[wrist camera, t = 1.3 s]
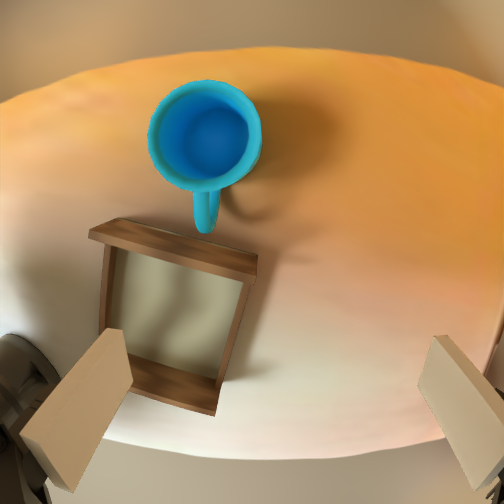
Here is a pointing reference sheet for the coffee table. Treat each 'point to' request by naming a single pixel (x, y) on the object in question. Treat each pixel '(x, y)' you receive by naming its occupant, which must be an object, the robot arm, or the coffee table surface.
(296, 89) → the coffee table surface
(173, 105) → the mug
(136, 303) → the tray
